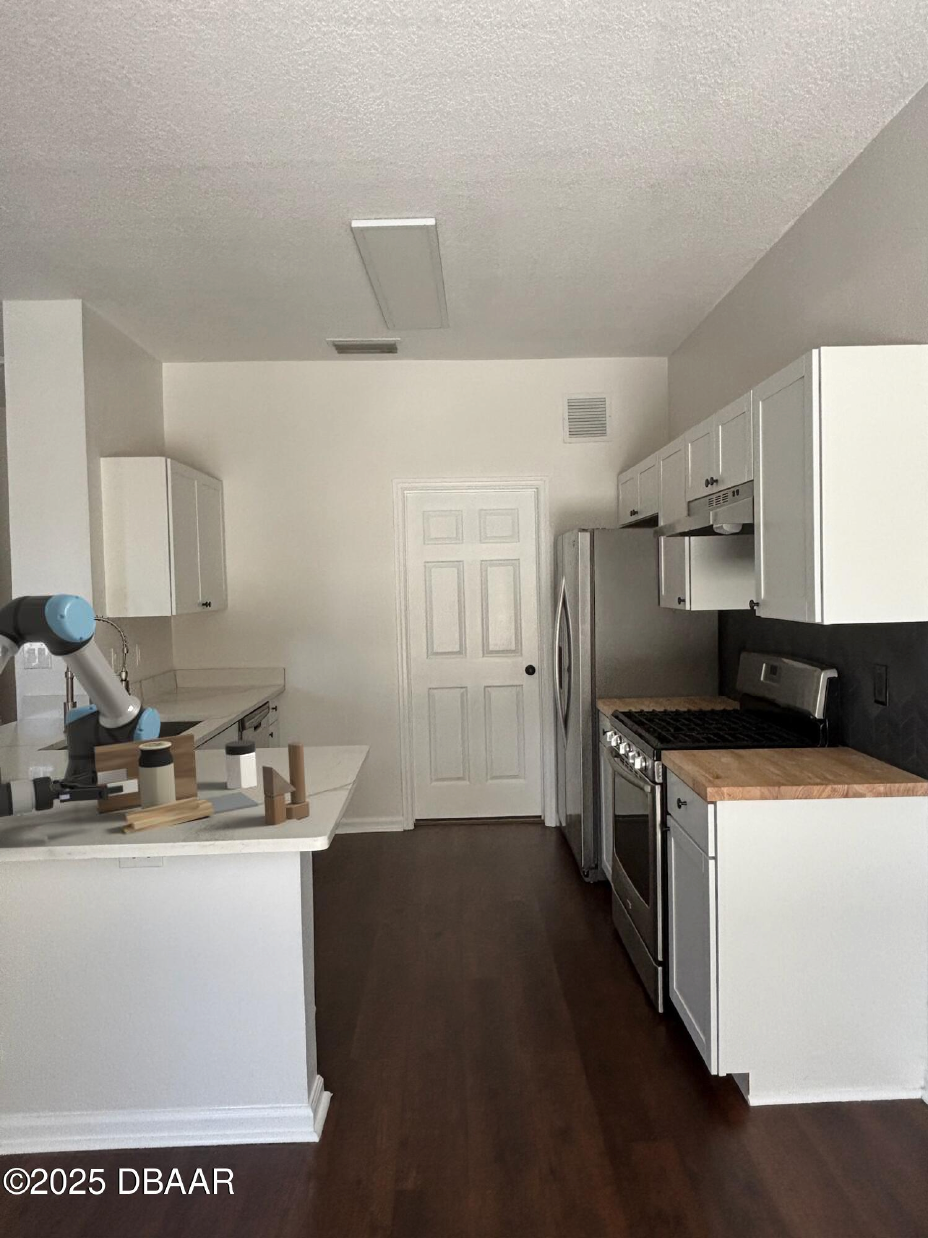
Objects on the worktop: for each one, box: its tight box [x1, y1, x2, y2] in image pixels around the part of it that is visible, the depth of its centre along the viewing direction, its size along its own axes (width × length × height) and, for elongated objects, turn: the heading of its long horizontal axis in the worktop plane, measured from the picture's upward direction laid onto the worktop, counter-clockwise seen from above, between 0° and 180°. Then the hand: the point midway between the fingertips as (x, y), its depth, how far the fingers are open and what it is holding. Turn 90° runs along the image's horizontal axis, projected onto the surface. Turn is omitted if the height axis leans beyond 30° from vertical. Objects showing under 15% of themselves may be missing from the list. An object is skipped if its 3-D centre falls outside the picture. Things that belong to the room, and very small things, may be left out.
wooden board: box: [94, 733, 198, 815], centre depth 214 cm, size 4×24×17 cm, turn 123°
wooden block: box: [261, 741, 310, 826], centre depth 197 cm, size 4×11×18 cm, turn 143°
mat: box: [197, 791, 259, 816], centre depth 211 cm, size 14×14×1 cm
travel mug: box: [138, 741, 177, 810], centre depth 204 cm, size 8×8×18 cm
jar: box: [224, 739, 258, 790], centre depth 231 cm, size 9×8×12 cm
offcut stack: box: [121, 797, 215, 835], centre depth 197 cm, size 6×20×4 cm, turn 123°
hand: (131, 779), depth 200 cm, fingers open, 13 cm apart
